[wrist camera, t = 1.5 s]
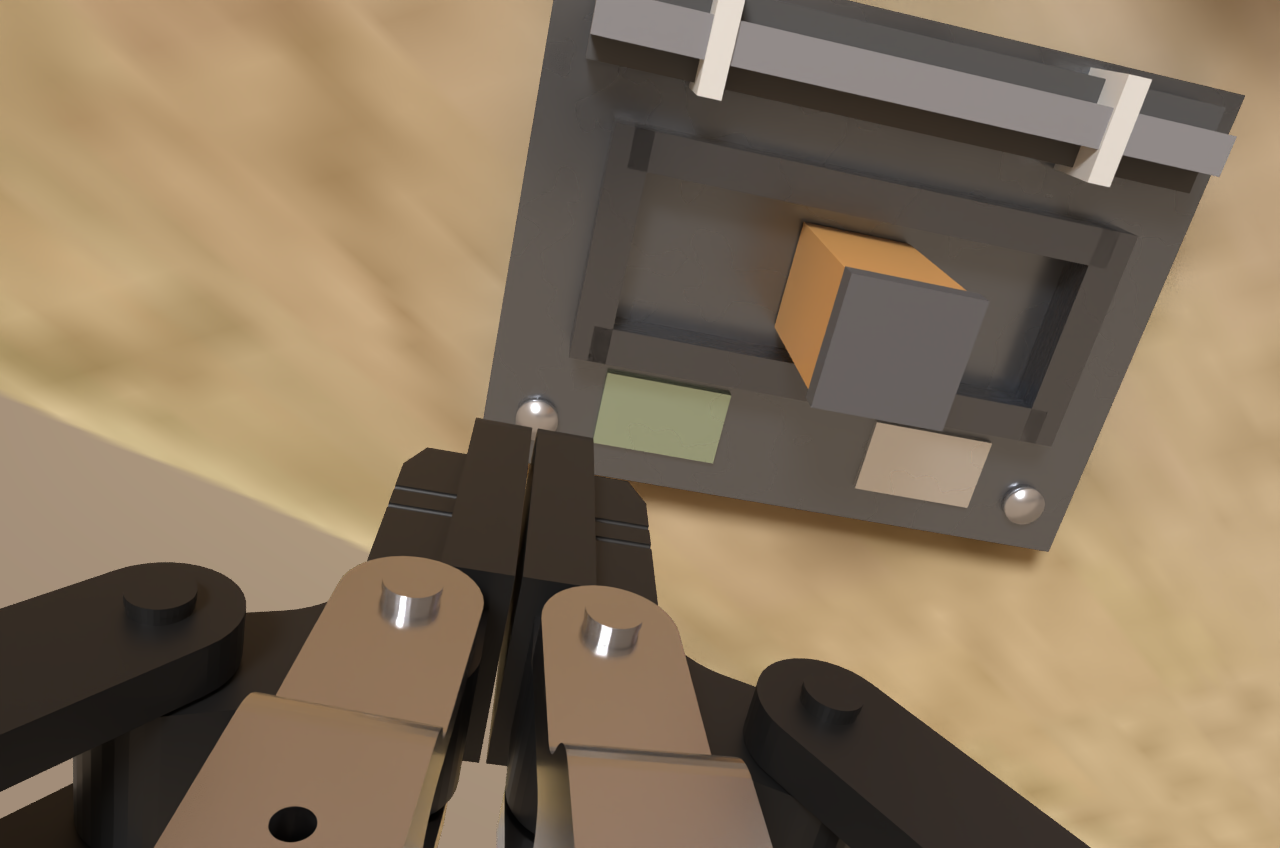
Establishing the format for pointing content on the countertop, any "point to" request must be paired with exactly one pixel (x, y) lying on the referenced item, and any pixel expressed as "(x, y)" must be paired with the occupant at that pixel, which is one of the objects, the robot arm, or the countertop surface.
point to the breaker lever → (876, 327)
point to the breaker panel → (757, 276)
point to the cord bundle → (919, 86)
